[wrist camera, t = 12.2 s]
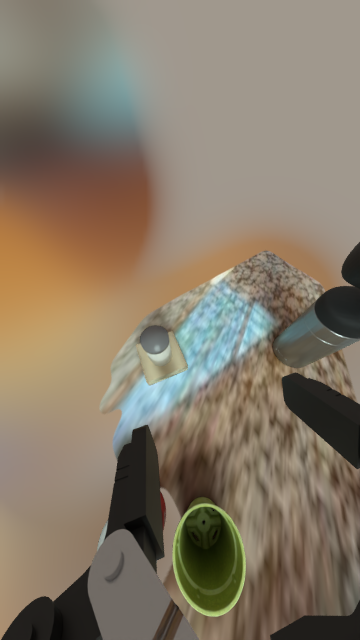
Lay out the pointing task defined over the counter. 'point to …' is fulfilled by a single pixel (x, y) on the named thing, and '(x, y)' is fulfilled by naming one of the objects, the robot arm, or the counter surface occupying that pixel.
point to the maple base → (162, 372)
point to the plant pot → (209, 558)
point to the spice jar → (156, 345)
